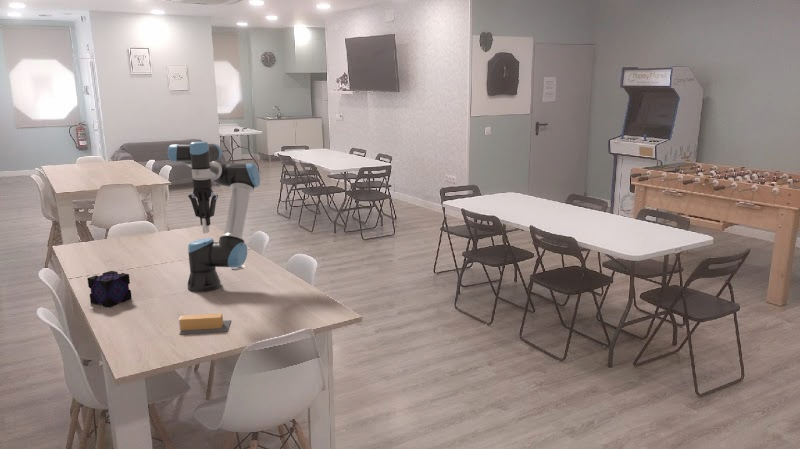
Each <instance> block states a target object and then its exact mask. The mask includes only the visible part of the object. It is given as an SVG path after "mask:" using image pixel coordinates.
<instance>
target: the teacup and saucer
mask: <svg viewBox="0 0 800 449" xmlns="http://www.w3.org/2000/svg"><path fill="white" fill-rule="evenodd" d="M245 267H246V265H244V264H243V265H242V266H241V267H233V268H230V267H229V269H231V270H242V269H244V268H245Z"/></svg>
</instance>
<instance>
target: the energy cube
mask: <svg viewBox="0 0 800 449" xmlns="http://www.w3.org/2000/svg"><path fill="white" fill-rule="evenodd" d="M130 280H131V278H130V274H129V273H125V272H122V273H118V271H114V270H109V271H107V272H103V273H102V274H100V275H92V276H89V277H87V285H88V286H87V287H88V288H89V289H90V294H89V302H90V305H91V304H92V305H96V306H98V305H101V306H102V307H103V308H107V309H108V308H112V307H115V306H118V303H125V302H128V301H131V300H133V297H132V289H130V286H129V285H130V283H131V281H130Z"/></svg>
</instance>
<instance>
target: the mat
mask: <svg viewBox="0 0 800 449" xmlns="http://www.w3.org/2000/svg"><path fill="white" fill-rule="evenodd" d="M231 322H232V319H231V320H230V319H229V320H228V319H227V320H223V325H222V328H213V329H197V330H181V331H180V332H179V335H195V334H196V335H197V334H212V333H213V334H214V333H227V332H228V331H229V328H230V325H231Z"/></svg>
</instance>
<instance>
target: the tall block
mask: <svg viewBox="0 0 800 449" xmlns="http://www.w3.org/2000/svg"><path fill="white" fill-rule="evenodd" d="M223 321H224V319H223V313H221V312H220V313H219V312H218V313H204V314H203V313H202V314H186V315H180V317H179V318H178V327H179V331H180V332H181V330H197V329H213V328H222V325H223Z"/></svg>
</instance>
